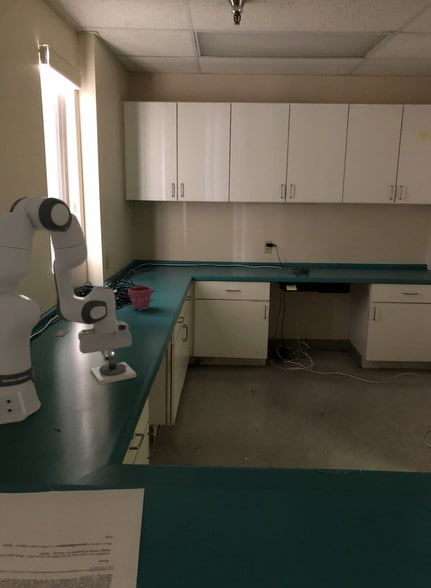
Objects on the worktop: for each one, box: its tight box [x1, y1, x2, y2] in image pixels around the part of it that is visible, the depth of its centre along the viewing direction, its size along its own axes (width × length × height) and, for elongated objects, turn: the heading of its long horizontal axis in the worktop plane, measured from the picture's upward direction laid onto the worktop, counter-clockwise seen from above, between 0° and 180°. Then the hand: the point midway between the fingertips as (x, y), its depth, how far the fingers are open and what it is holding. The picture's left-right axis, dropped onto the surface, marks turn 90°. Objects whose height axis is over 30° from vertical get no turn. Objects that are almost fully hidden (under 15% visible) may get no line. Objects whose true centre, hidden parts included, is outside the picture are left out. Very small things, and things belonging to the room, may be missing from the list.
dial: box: [99, 351, 126, 375], centre depth 173 cm, size 12×10×5 cm
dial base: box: [90, 361, 137, 385], centre depth 173 cm, size 14×14×2 cm
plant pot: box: [127, 285, 153, 309], centre depth 273 cm, size 14×14×13 cm
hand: (106, 360), depth 177 cm, fingers closed
